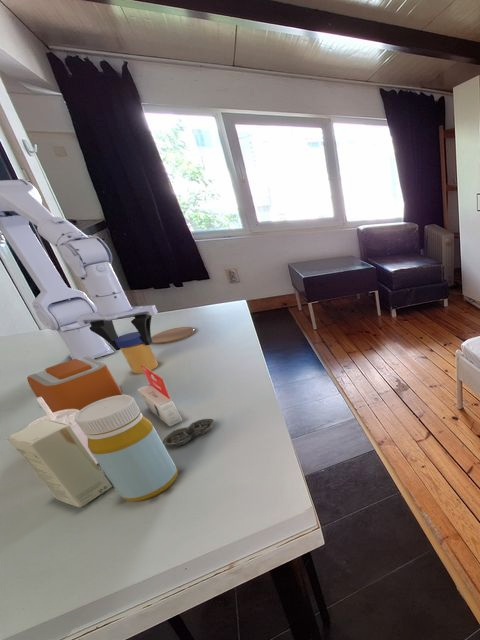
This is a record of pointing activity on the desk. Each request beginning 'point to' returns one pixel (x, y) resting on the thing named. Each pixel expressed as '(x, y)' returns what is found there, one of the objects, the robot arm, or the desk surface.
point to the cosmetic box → (60, 462)
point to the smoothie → (66, 418)
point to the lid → (129, 339)
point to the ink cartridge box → (159, 399)
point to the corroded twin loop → (188, 432)
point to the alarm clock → (74, 384)
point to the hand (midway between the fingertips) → (134, 346)
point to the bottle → (127, 447)
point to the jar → (139, 357)
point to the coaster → (172, 335)
